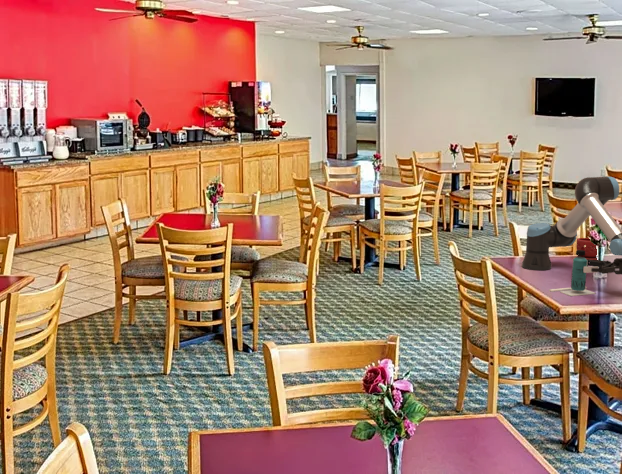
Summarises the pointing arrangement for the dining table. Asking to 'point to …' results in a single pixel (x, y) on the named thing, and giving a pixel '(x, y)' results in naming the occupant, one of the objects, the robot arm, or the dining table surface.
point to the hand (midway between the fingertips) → (578, 266)
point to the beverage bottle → (579, 272)
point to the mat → (577, 292)
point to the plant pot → (587, 248)
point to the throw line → (561, 289)
